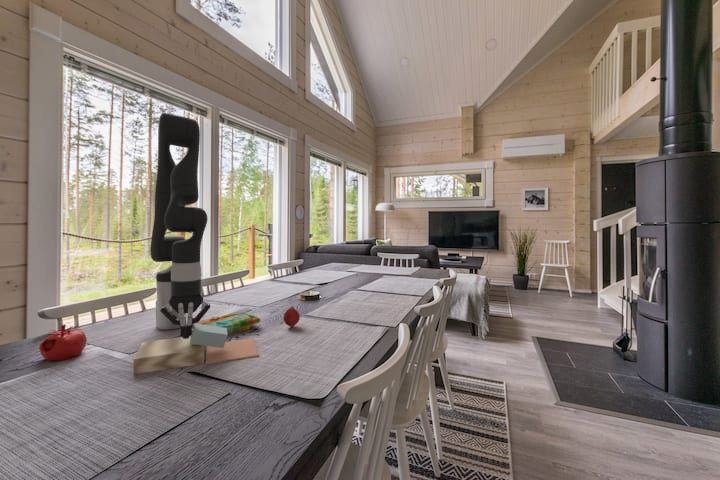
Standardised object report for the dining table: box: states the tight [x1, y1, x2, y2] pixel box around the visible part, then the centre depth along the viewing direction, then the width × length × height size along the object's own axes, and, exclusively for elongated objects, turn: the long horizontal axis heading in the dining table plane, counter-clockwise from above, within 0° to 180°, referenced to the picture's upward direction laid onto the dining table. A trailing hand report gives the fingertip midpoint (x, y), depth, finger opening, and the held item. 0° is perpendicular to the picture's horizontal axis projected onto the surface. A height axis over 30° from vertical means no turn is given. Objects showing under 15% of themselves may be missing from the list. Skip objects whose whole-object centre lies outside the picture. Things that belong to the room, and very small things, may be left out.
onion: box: [283, 305, 301, 328], centre depth 117 cm, size 6×6×8 cm
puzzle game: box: [192, 311, 261, 336], centre depth 113 cm, size 12×5×20 cm
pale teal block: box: [190, 323, 228, 348], centre depth 92 cm, size 9×6×4 cm, turn 116°
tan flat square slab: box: [205, 337, 260, 366], centre depth 96 cm, size 14×14×1 cm
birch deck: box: [132, 336, 206, 375], centre depth 89 cm, size 16×12×4 cm
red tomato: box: [38, 324, 88, 362], centre depth 90 cm, size 10×10×9 cm
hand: (186, 337), depth 90 cm, fingers closed
